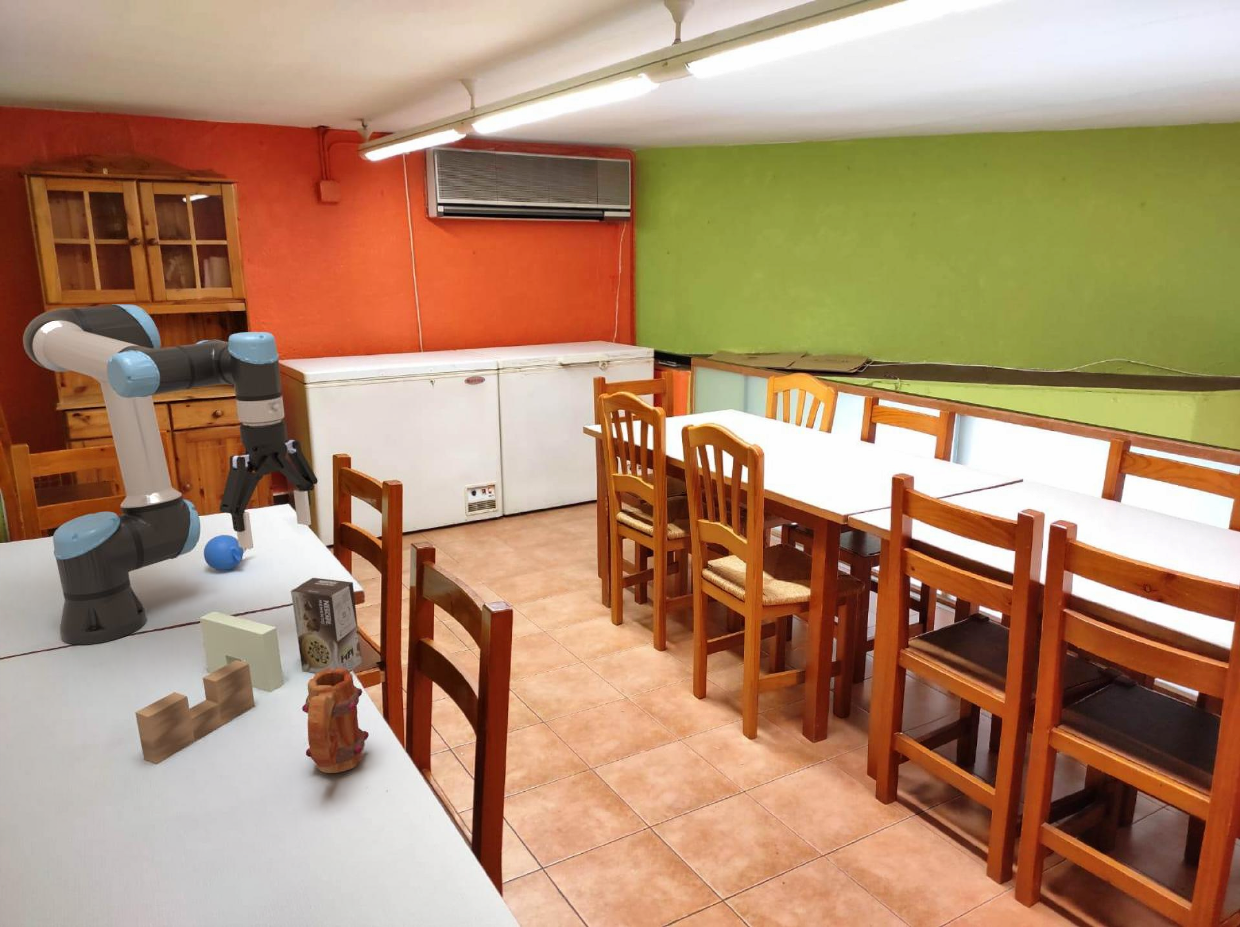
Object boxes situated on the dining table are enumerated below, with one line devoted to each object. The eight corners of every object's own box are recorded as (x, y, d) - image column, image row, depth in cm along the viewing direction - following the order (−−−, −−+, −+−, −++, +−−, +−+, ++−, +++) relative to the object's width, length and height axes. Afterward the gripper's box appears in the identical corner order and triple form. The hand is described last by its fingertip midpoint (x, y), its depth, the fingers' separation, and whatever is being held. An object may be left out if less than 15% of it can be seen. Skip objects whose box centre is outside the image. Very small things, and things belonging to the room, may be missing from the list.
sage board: (208, 672, 154) (199, 617, 151) (222, 665, 157) (214, 611, 154) (270, 691, 147) (262, 634, 144) (283, 684, 150) (276, 627, 147)
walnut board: (156, 763, 127) (148, 716, 125) (143, 758, 129) (135, 712, 126) (254, 706, 143) (248, 663, 141) (242, 702, 144) (236, 659, 142)
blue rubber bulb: (269, 563, 207) (265, 531, 205) (224, 579, 198) (219, 545, 195) (239, 554, 213) (235, 523, 211) (195, 570, 204) (190, 537, 202)
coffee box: (363, 661, 157) (354, 581, 153) (341, 678, 151) (332, 595, 147) (322, 655, 160) (313, 576, 156) (299, 671, 154) (289, 589, 150)
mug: (320, 746, 131) (309, 659, 127) (373, 743, 131) (364, 656, 128) (293, 807, 117) (280, 711, 113) (353, 803, 117) (342, 707, 114)
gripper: (217, 438, 136) (235, 561, 141) (329, 409, 157) (340, 517, 163) (185, 434, 139) (203, 555, 144) (299, 406, 161) (311, 512, 166)
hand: (276, 535), depth 154 cm, fingers open, 13 cm apart
